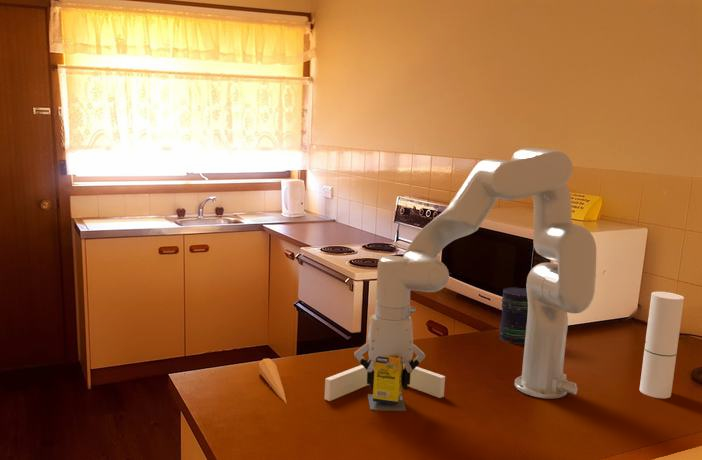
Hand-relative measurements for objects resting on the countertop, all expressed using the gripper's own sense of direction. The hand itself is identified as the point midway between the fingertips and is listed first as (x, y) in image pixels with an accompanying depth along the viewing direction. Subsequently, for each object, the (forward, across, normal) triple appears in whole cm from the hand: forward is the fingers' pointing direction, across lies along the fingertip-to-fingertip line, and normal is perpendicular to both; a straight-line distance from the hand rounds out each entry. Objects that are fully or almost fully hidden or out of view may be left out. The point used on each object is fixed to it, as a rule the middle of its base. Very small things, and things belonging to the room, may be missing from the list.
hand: (388, 386), depth 146 cm
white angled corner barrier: (+4, 0, -3) cm, 5 cm away
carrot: (+4, +26, -8) cm, 28 cm away
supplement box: (+3, 0, 0) cm, 3 cm away
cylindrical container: (+4, -68, -9) cm, 69 cm away
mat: (+4, 0, 0) cm, 4 cm away
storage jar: (+4, -45, -48) cm, 66 cm away
